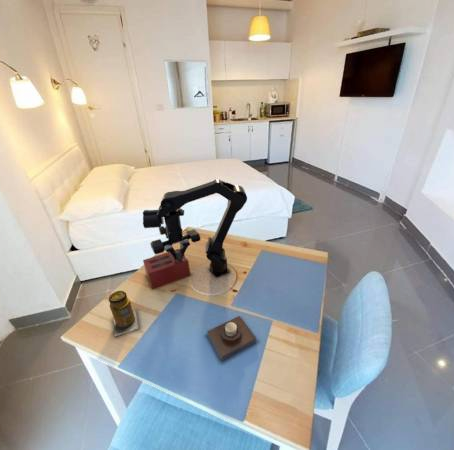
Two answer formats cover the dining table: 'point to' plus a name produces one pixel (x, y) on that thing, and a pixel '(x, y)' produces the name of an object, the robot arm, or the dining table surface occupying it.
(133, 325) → the condiment
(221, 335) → the control block
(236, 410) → the dining table surface
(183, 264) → the toaster
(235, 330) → the button
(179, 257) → the toaster slider
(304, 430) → the dining table surface
